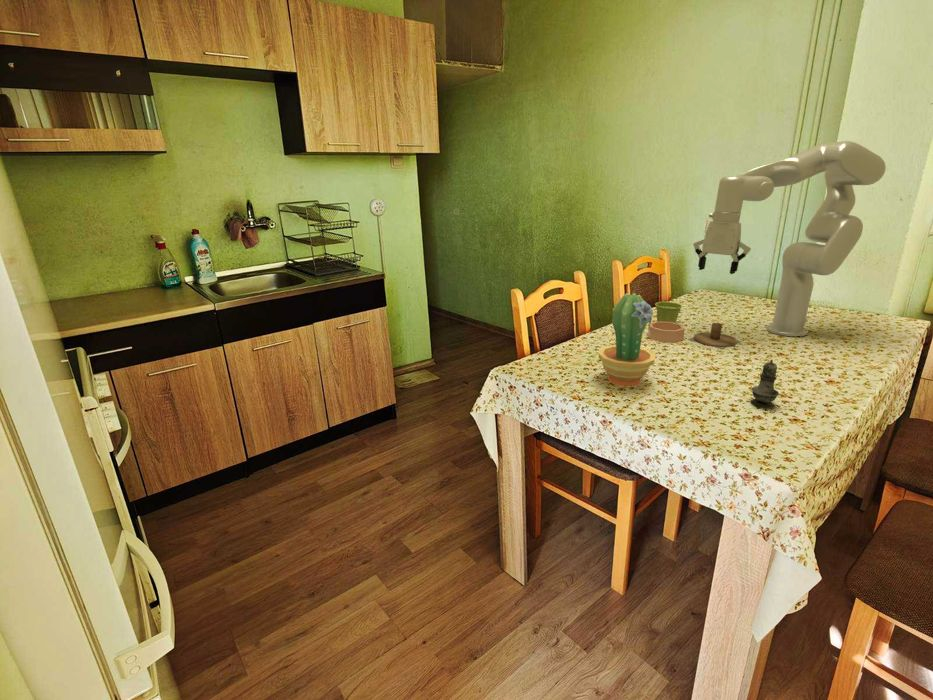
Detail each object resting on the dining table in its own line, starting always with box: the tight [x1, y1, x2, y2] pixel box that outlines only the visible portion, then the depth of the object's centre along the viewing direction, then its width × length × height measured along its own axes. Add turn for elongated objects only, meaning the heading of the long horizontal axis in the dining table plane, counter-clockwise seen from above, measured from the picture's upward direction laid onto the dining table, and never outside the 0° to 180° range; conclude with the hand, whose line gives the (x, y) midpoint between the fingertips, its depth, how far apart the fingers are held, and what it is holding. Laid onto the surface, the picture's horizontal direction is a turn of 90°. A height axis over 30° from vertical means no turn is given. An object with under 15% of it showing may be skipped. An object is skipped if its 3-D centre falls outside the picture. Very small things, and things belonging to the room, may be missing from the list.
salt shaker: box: [750, 359, 780, 410], centre depth 119 cm, size 6×6×12 cm
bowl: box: [647, 320, 685, 343], centre depth 168 cm, size 11×11×5 cm
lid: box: [693, 322, 738, 348], centre depth 163 cm, size 13×13×6 cm
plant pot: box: [654, 301, 683, 323], centre depth 181 cm, size 9×9×9 cm
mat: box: [687, 337, 742, 350], centre depth 164 cm, size 12×12×1 cm
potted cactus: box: [598, 292, 656, 388], centre depth 133 cm, size 15×16×25 cm
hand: (716, 271), depth 159 cm, fingers open, 9 cm apart
